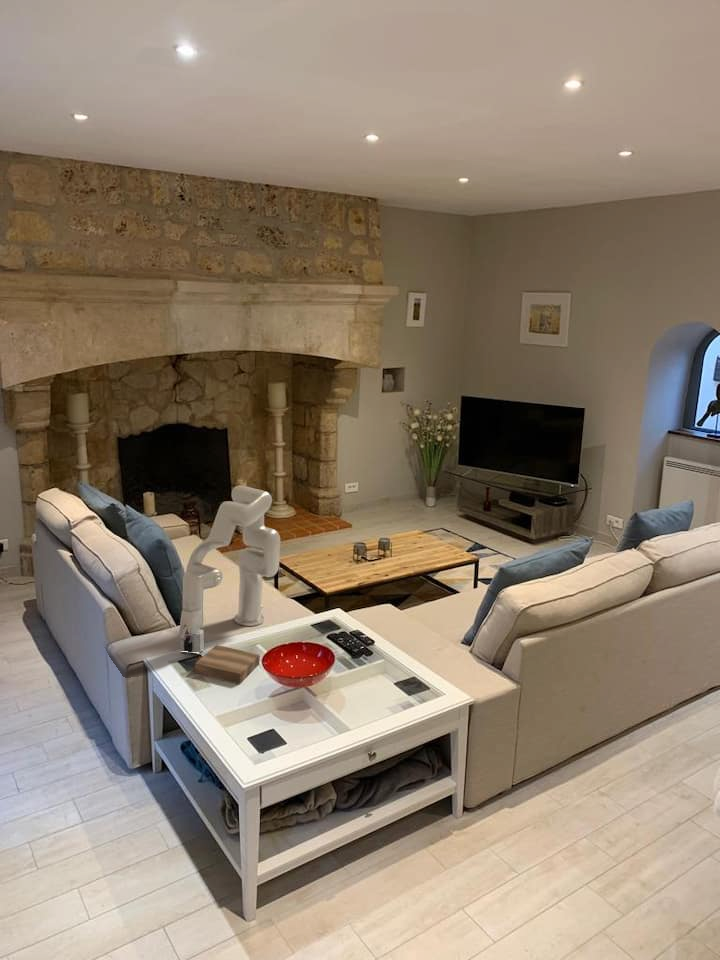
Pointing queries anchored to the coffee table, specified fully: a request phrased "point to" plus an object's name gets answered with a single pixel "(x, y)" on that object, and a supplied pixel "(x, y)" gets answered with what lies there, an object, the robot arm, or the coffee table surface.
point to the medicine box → (195, 641)
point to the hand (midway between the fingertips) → (192, 647)
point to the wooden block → (227, 664)
